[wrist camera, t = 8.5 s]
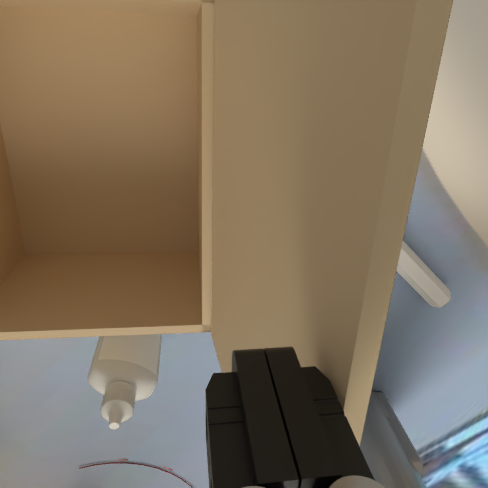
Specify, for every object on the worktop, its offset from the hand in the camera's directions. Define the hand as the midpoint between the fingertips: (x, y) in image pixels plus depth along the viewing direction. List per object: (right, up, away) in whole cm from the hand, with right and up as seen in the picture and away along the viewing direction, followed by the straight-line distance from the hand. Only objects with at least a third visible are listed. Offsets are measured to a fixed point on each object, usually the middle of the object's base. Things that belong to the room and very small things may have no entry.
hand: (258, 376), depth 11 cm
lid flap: (0, +3, +6) cm, 7 cm away
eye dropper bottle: (-11, -5, +32) cm, 34 cm away
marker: (+14, +3, +32) cm, 35 cm away
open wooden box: (-12, +11, +24) cm, 29 cm away
